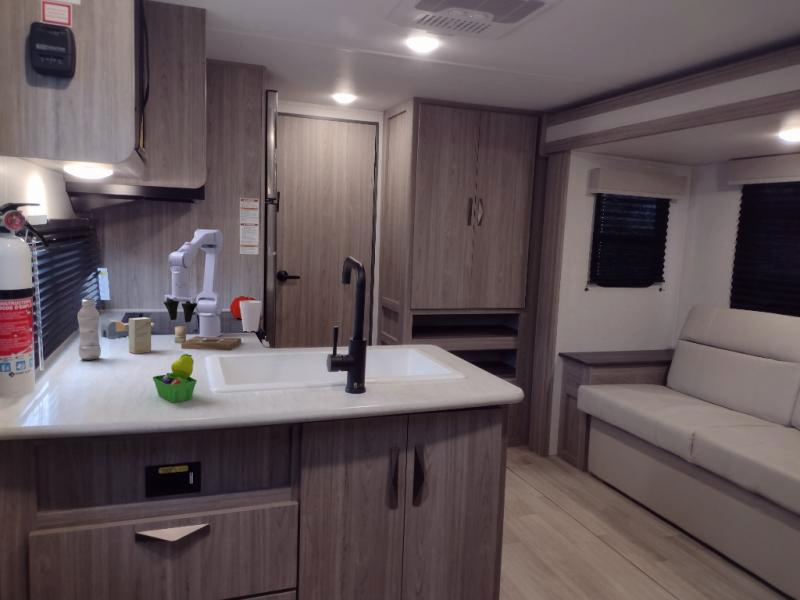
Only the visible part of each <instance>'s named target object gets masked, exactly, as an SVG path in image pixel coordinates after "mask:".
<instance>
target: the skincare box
mask: <svg viewBox="0 0 800 600" xmlns="http://www.w3.org/2000/svg"><path fill="white" fill-rule="evenodd" d="M128 323H129V337H128V352H129V353H131V354H135V355H137V354H144V353H145V354H146V353H151V352H152V326H151V323H152V318H151V317H146V316H145V317H144V316H143V317H133V318H131V317H129V318H128Z"/></svg>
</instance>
